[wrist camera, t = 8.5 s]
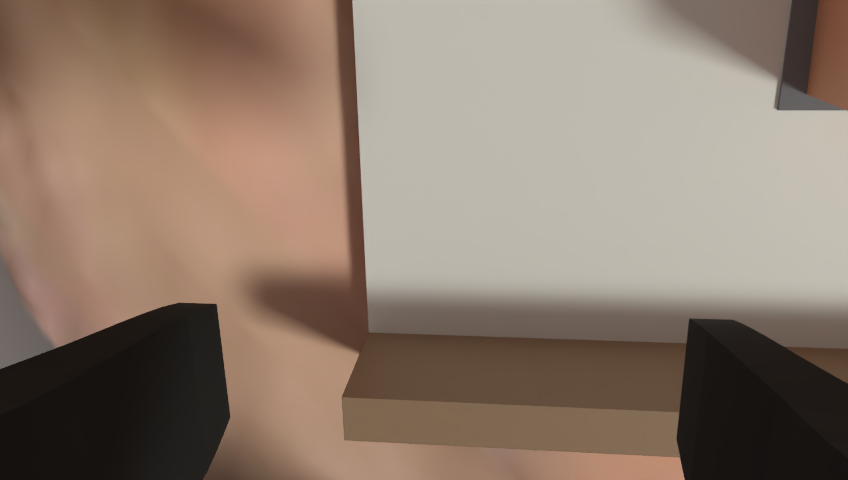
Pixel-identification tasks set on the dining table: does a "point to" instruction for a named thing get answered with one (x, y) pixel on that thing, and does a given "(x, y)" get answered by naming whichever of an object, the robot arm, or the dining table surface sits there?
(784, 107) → the pad
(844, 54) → the bar
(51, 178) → the dining table surface
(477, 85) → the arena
